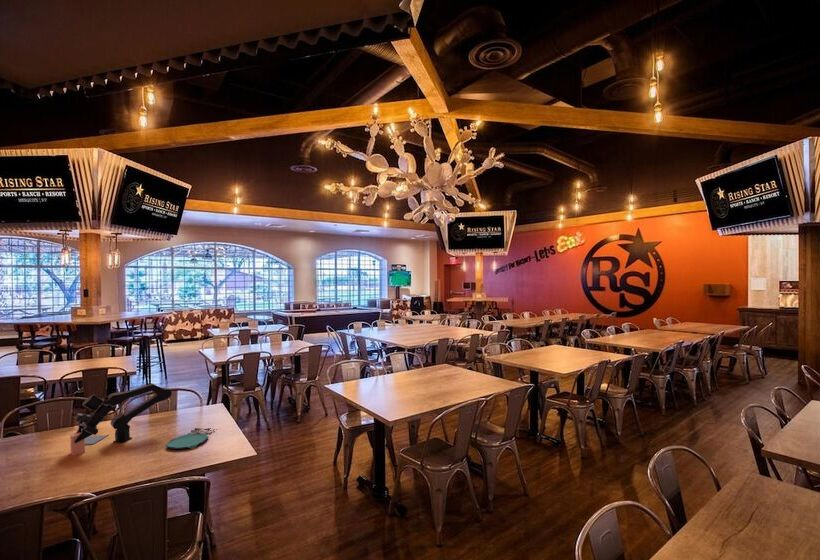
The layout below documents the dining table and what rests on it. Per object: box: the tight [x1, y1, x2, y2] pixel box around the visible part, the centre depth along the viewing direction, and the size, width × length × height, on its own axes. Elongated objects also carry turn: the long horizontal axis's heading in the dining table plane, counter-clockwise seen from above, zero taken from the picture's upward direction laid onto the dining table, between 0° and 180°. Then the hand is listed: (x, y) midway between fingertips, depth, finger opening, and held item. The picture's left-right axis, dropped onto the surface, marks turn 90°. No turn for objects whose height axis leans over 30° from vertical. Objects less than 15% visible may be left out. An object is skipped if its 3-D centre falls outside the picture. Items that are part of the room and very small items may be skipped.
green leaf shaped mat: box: [165, 427, 211, 450], centre depth 223 cm, size 20×30×2 cm, turn 177°
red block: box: [69, 432, 86, 457], centre depth 209 cm, size 5×5×10 cm
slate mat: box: [84, 434, 109, 446], centre depth 224 cm, size 12×12×1 cm
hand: (74, 441), depth 208 cm, fingers open, 5 cm apart
